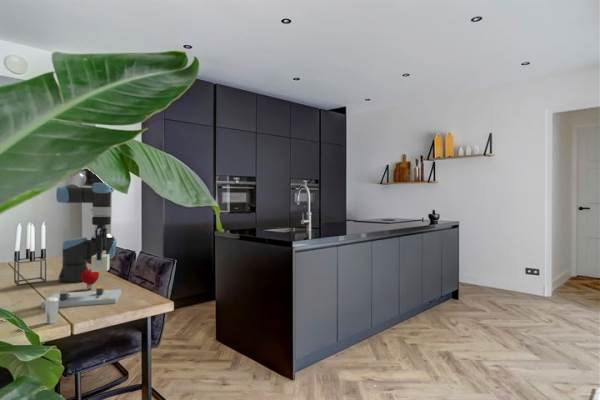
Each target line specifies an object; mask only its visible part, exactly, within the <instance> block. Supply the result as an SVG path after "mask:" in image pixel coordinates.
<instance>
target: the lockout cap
mask: <svg viewBox="0 0 600 400" xmlns="http://www.w3.org/2000/svg"><path fill="white" fill-rule="evenodd" d="M90 261H91V262H90V263H91V265H90V269H91V272H99V273H101V272H108V271H109V270H110V267H111V265H110V263H111V262H110V261H111V260H110V254H103V267H96V255H94V256H92V258H91V260H90Z"/></svg>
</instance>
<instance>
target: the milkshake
mask: <svg viewBox="0 0 600 400" xmlns="http://www.w3.org/2000/svg"><path fill="white" fill-rule="evenodd" d="M59 298H60V296H59ZM59 298H56V297H54V298H49V297H48V298H46V299H45V300H44V301H43V302H44V303H45V308H44V312H45V313H44V314H45V323H46V324H47V325H51V324H56V323H57V322H58V316H59V315H58V314H59V308H60V307H59Z"/></svg>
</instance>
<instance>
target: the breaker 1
mask: <svg viewBox="0 0 600 400" xmlns="http://www.w3.org/2000/svg"><path fill="white" fill-rule="evenodd" d="M59 293H60V300H66V299H67V298H68V293H69V290H60V292H59Z"/></svg>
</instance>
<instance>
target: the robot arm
mask: <svg viewBox="0 0 600 400" xmlns="http://www.w3.org/2000/svg"><path fill="white" fill-rule="evenodd" d="M64 184H65V185H64V186H58V187H57V188H56V193H55V195H56V201H57V202H58V203H65V204H92V208H91V209H90V211H92V213H91V214H92V217H91V224H92V225H93V226H94V233H93V235H91V239H88V238H87V237H76V238H71V239H67V240H64V241H63V243H62V249H61V251H62V261H61V262H62V265H61V270H60V272H59V273H58V274H59V275H58V280H57V282H60V283H76V282H83V281H82V280H81V274H82V273H83V272H84V271H85V270H89V267H88V264H87V263H88V261H91V258H92V256H94V255H96V267H103V254H110V259H111V260H112V259H113V258H114V257H115V254H116V250H117V249H116V247H117V241H118V240H117V239H116V238H115V235H114V234H113V233H112V214H113V212H112V210H113V209H112V205H113V204H112V202H113V197H112V196H113V192H114V191H115V190H113V189H112V188H110V187H109V186H107V185H106V184H105V183H103V182H102V181H101V180H100V179H99V178H98V177H97V176H96V175H95V174H93V173H92V172H91V171H89V170H88V169H84V170H82V171H81V172H79V173H78V174H76V175H75V176H73V177H72V178H70V179H69V180H67V181H66V180H65V183H64Z"/></svg>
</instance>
